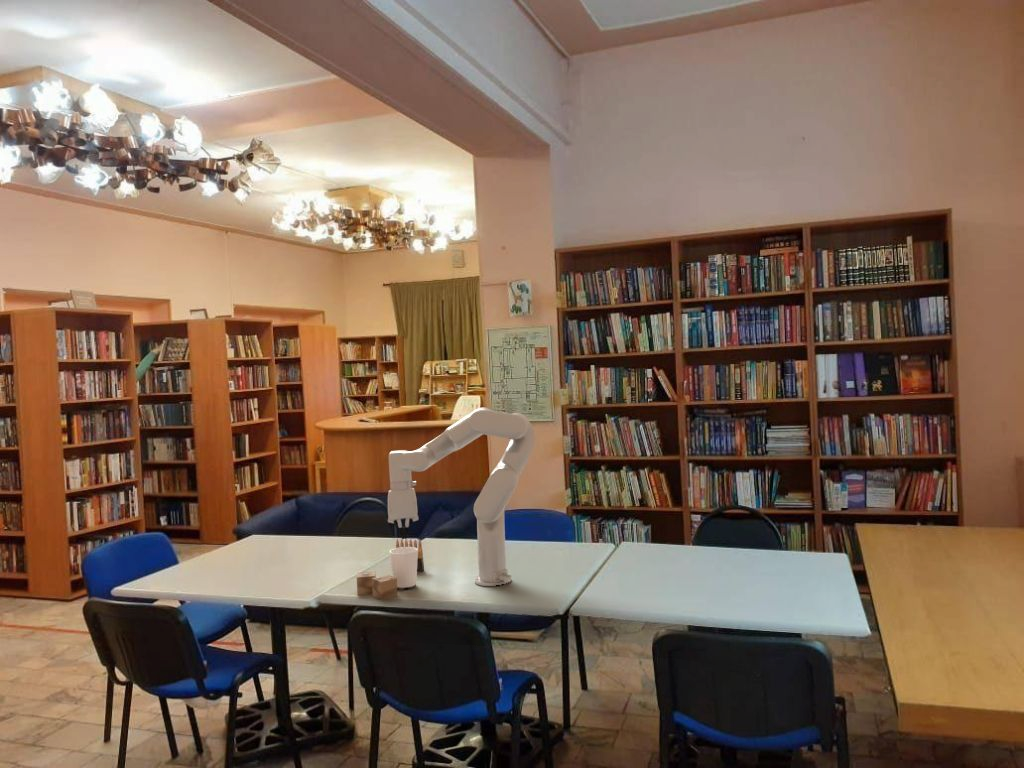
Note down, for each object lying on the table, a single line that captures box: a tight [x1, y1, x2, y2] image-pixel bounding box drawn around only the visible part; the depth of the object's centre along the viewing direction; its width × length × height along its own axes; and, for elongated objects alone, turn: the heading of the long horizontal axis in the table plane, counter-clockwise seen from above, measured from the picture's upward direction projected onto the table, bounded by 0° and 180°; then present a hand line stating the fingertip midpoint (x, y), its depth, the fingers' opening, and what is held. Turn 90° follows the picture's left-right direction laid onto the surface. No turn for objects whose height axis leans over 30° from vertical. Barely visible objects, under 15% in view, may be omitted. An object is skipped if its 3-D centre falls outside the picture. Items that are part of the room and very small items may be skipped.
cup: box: [389, 546, 418, 591], centre depth 255 cm, size 10×10×13 cm
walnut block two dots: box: [372, 574, 398, 601], centre depth 246 cm, size 6×6×6 cm
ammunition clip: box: [395, 538, 425, 573], centre depth 276 cm, size 11×2×12 cm, turn 78°
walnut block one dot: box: [356, 571, 377, 596], centre depth 252 cm, size 6×6×6 cm
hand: (404, 538), depth 259 cm, fingers closed
